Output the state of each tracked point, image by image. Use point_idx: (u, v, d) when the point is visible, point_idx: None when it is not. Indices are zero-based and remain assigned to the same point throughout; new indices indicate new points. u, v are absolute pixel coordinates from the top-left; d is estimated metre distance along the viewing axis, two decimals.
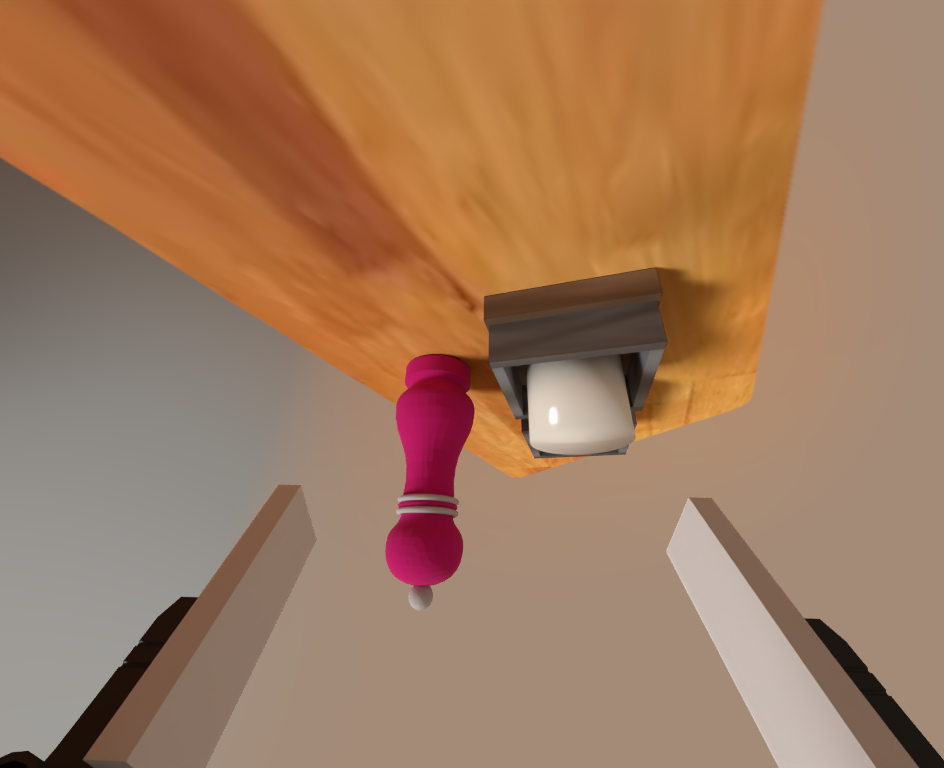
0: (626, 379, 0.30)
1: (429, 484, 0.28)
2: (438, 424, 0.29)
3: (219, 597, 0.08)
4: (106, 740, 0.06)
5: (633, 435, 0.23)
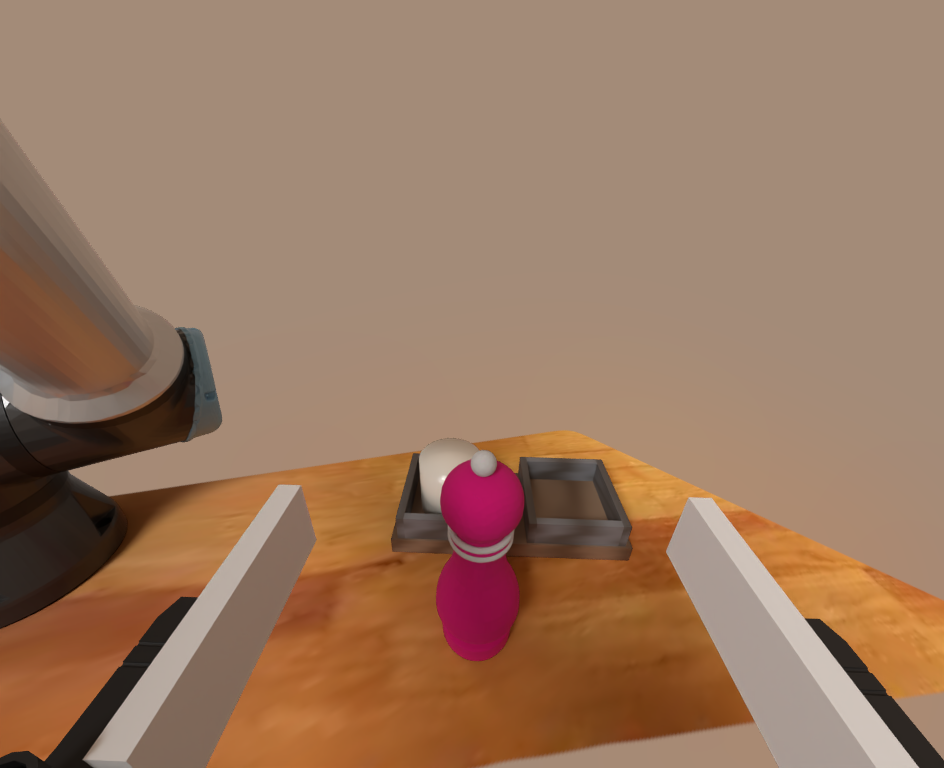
0: None
1: None
2: None
3: (219, 597, 0.08)
4: (106, 740, 0.06)
5: (446, 439, 0.42)
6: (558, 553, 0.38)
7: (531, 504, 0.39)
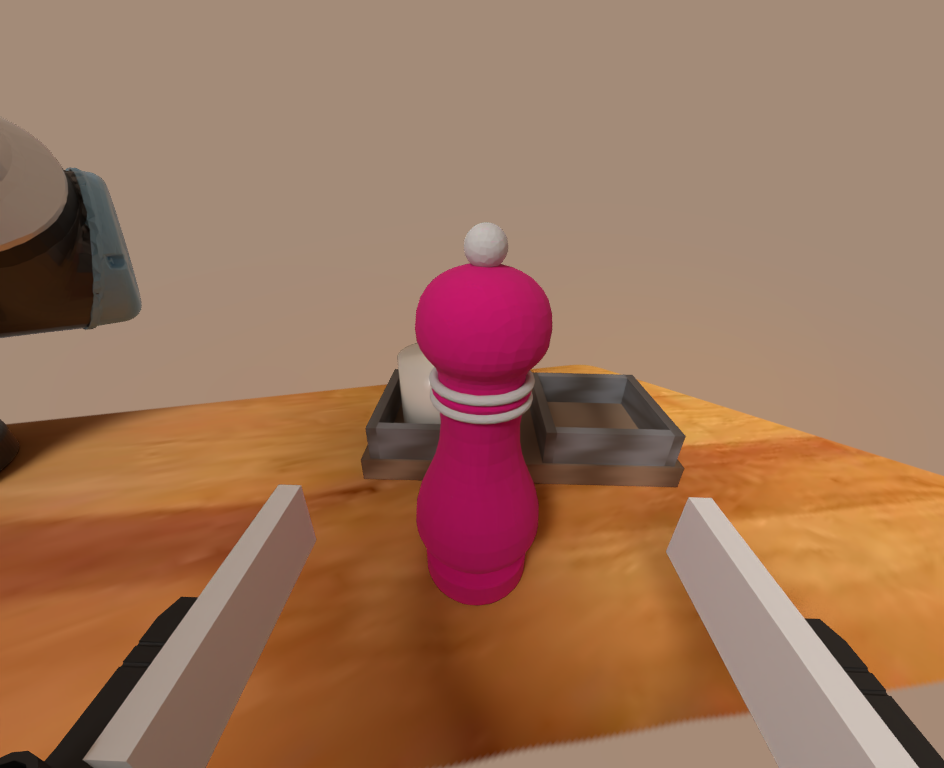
0: None
1: None
2: None
3: (219, 597, 0.08)
4: (106, 740, 0.06)
5: None
6: (584, 478, 0.29)
7: (547, 414, 0.29)
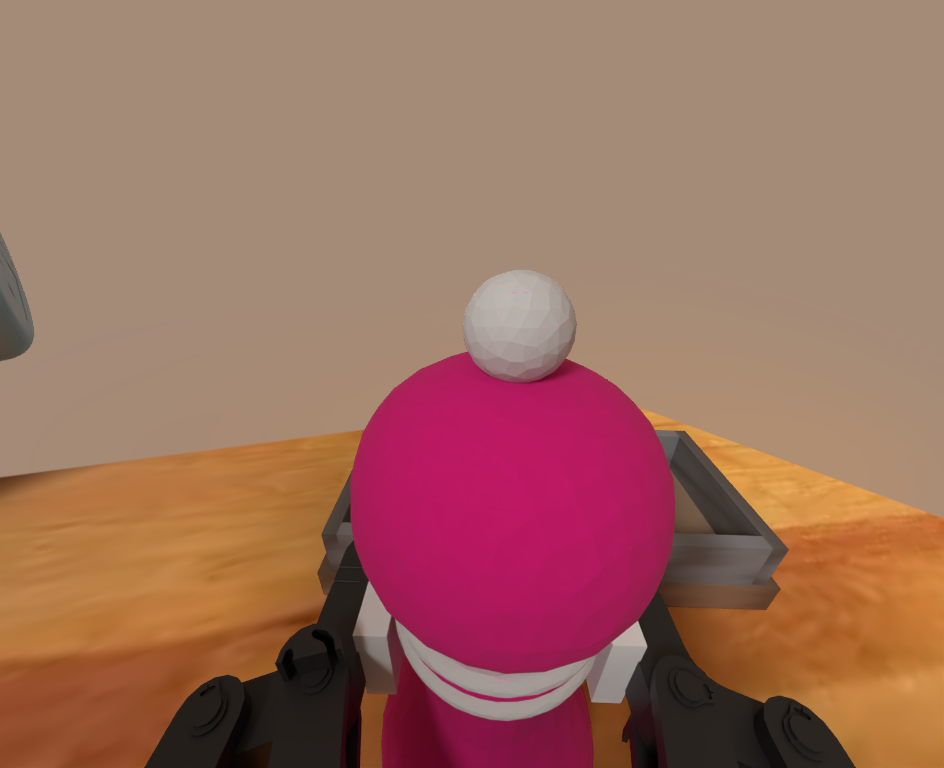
0: None
1: None
2: None
3: None
4: (362, 624, 0.08)
5: None
6: None
7: None
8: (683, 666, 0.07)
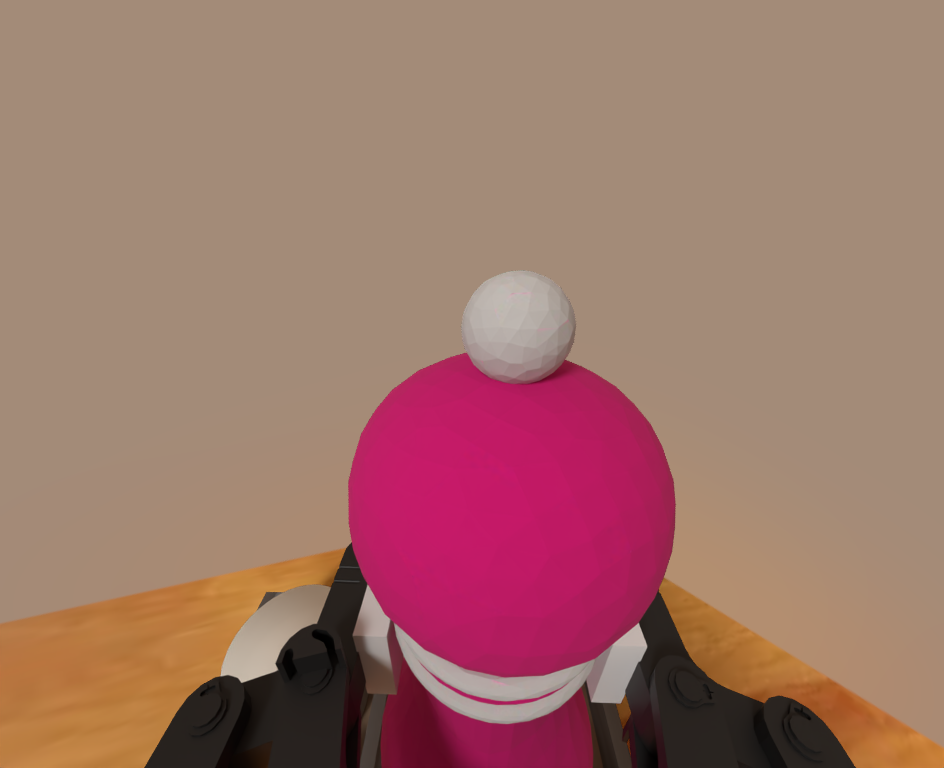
0: None
1: None
2: None
3: None
4: (363, 624, 0.08)
5: (299, 588, 0.23)
6: None
7: None
8: (683, 666, 0.07)
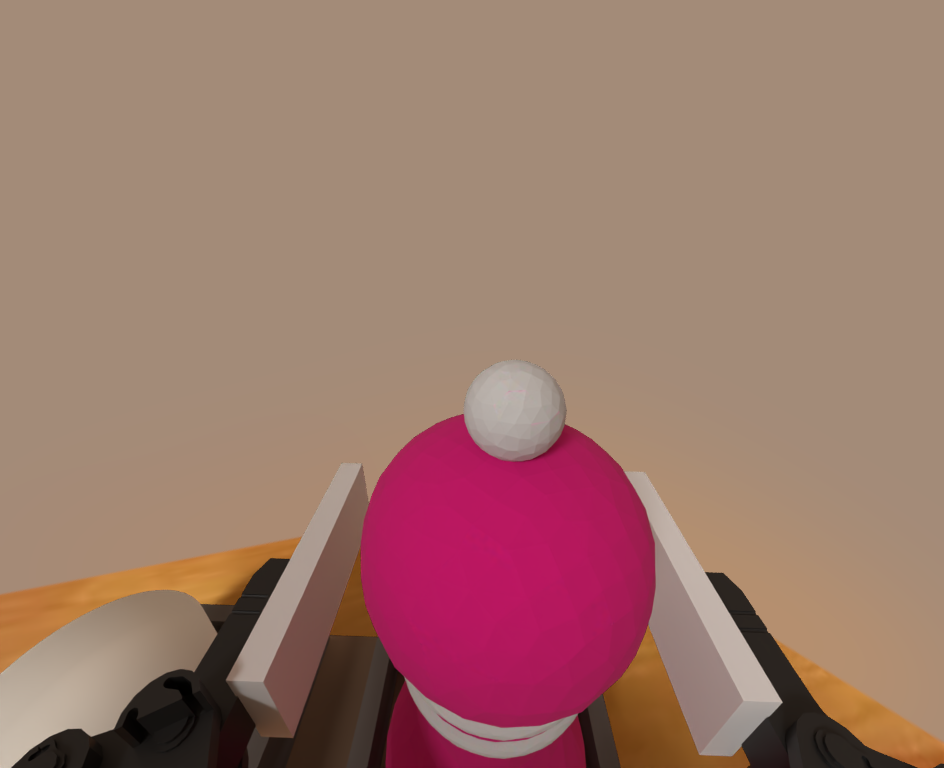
0: None
1: None
2: None
3: (311, 556, 0.09)
4: (241, 666, 0.07)
5: (134, 596, 0.15)
6: None
7: None
8: (834, 729, 0.07)
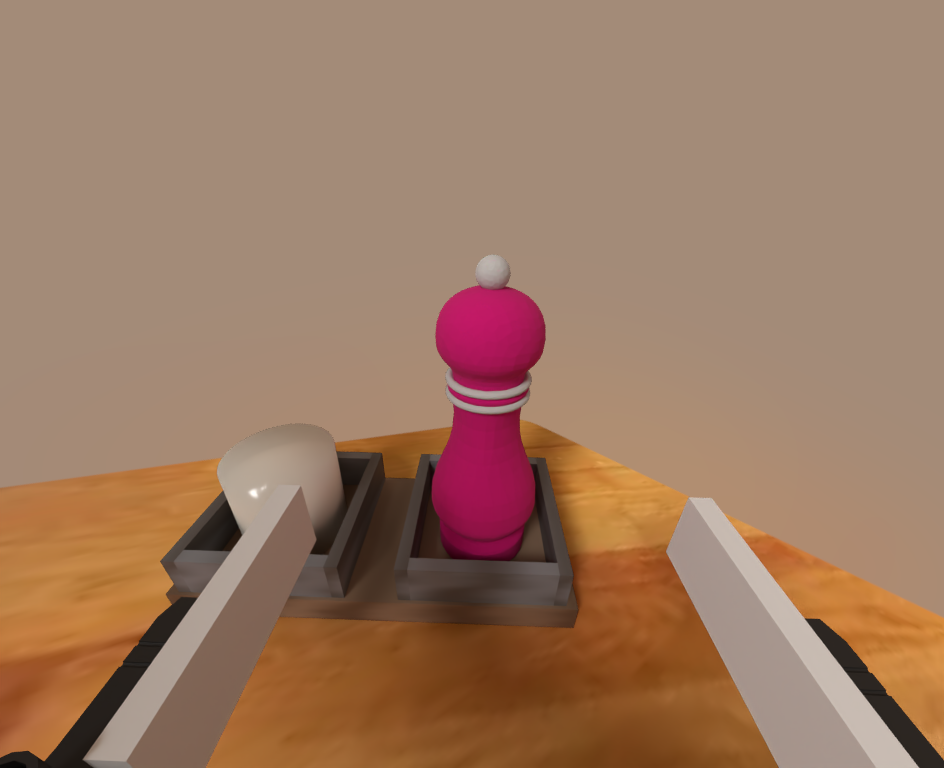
0: None
1: None
2: None
3: (219, 597, 0.08)
4: (106, 740, 0.06)
5: (282, 426, 0.26)
6: (453, 617, 0.22)
7: (410, 532, 0.23)
8: None
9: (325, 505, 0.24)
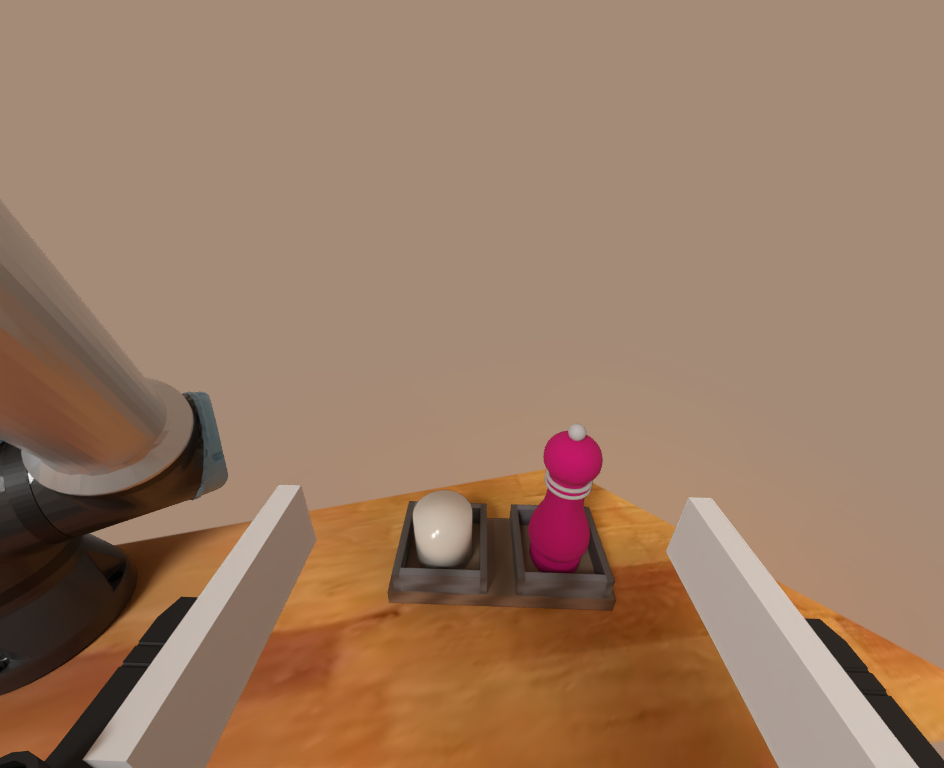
0: (479, 521, 0.48)
1: None
2: None
3: (219, 597, 0.08)
4: (105, 740, 0.06)
5: (432, 493, 0.44)
6: (545, 604, 0.40)
7: (520, 557, 0.41)
8: None
9: (469, 539, 0.42)
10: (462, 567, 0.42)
